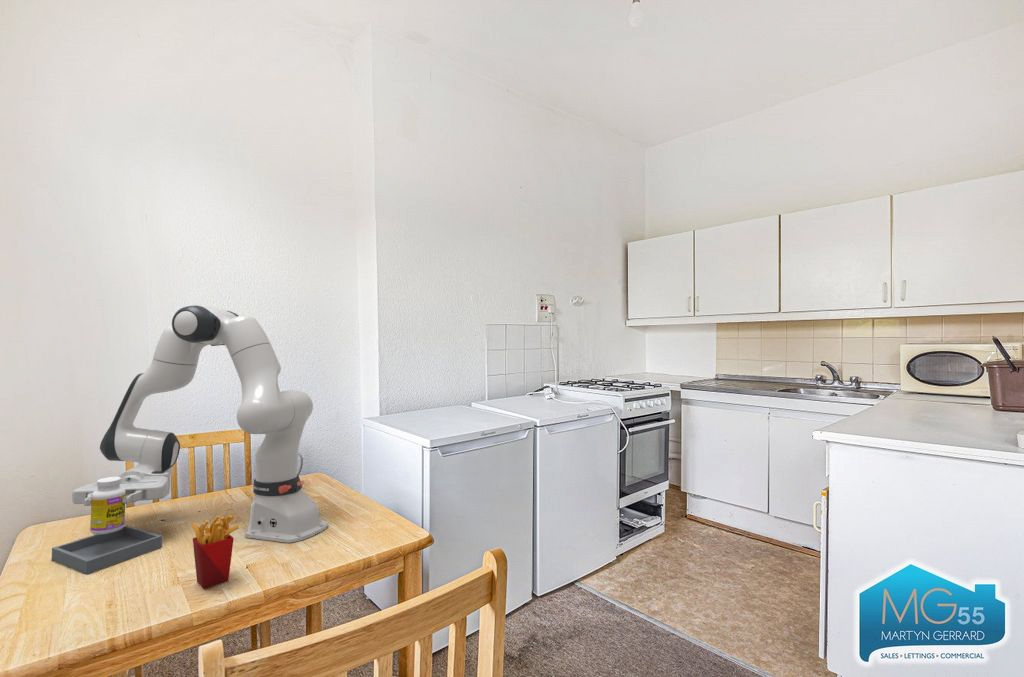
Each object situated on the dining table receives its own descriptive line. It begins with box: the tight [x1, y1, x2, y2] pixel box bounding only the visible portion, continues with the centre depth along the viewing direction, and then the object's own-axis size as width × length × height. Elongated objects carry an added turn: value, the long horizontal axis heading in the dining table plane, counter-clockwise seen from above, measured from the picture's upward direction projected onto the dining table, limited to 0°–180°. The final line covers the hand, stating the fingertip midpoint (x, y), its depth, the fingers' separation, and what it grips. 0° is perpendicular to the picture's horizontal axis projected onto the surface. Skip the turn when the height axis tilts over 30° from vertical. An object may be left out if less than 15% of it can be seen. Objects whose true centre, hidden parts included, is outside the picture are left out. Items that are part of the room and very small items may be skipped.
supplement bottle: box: [89, 476, 126, 535], centre depth 121 cm, size 7×7×13 cm
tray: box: [51, 524, 163, 575], centre depth 121 cm, size 16×16×3 cm
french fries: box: [191, 514, 240, 590], centre depth 107 cm, size 9×8×15 cm
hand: (106, 501), depth 120 cm, fingers closed on supplement bottle, 7 cm apart
